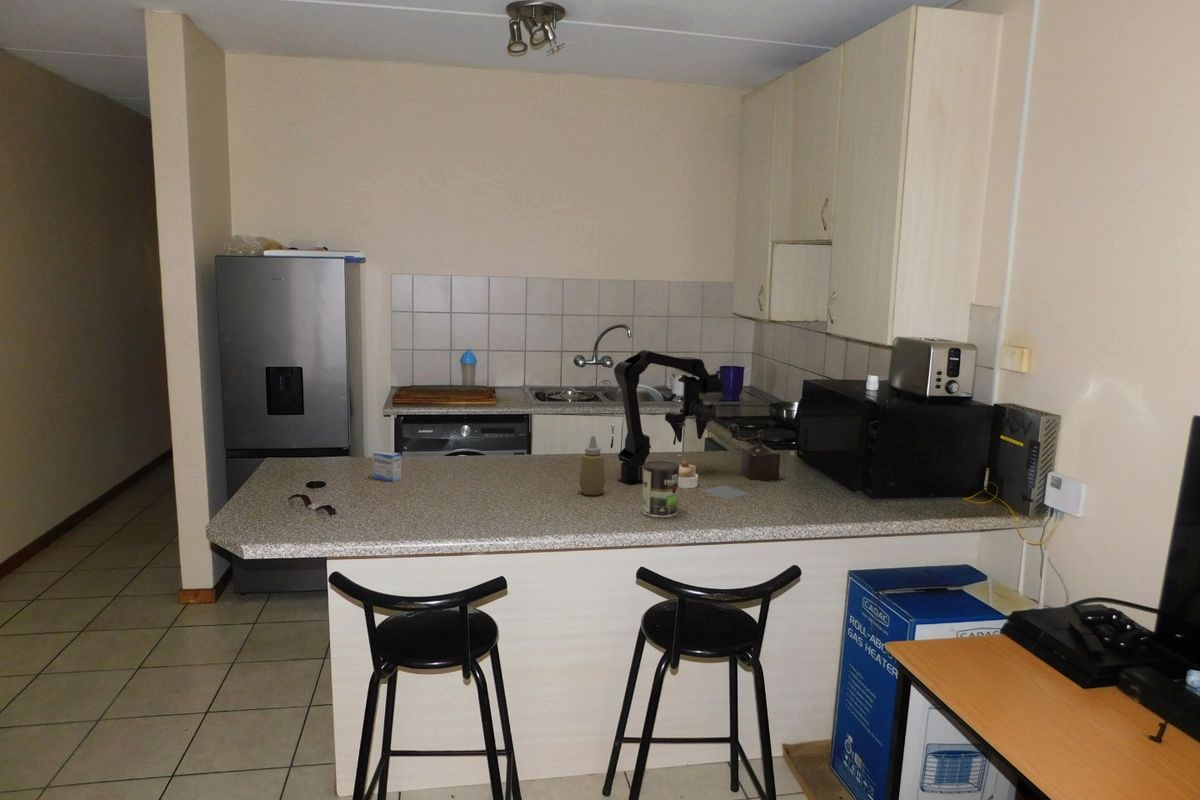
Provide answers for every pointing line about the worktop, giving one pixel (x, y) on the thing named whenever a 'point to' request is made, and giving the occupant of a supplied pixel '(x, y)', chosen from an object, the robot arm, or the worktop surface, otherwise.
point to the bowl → (688, 482)
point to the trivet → (725, 492)
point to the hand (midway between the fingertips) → (689, 440)
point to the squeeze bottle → (592, 470)
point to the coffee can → (660, 489)
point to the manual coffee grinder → (757, 458)
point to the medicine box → (387, 465)
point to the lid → (686, 469)
